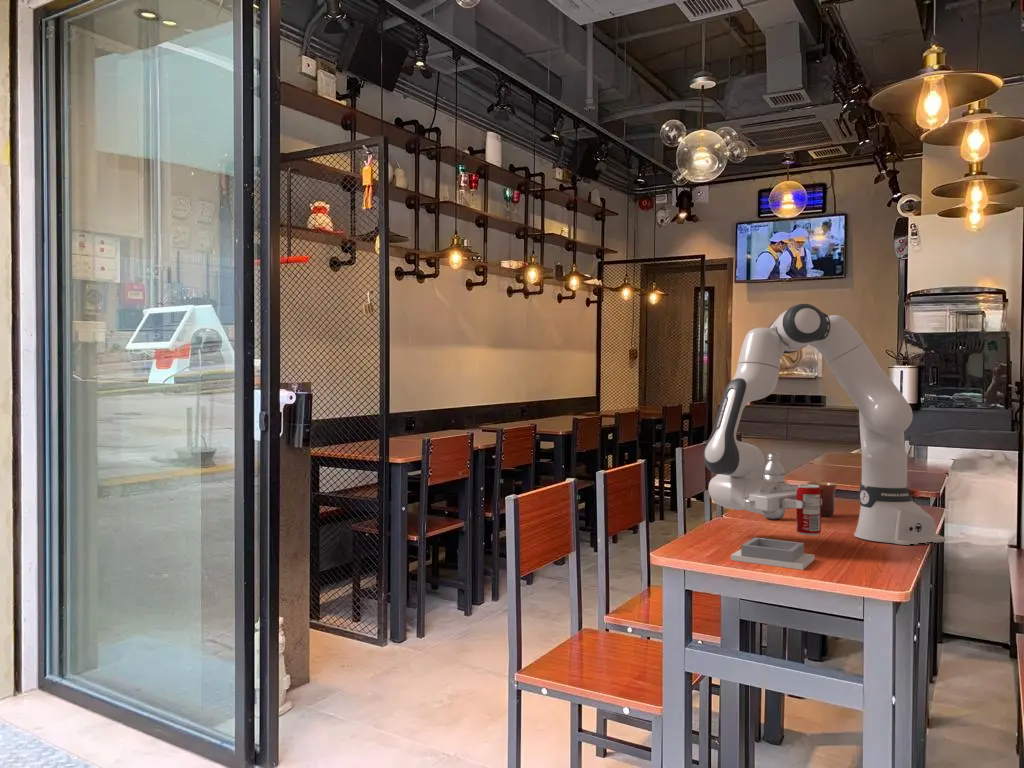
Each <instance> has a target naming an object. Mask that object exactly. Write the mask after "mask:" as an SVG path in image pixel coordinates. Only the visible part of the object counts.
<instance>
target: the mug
mask: <svg viewBox="0 0 1024 768" xmlns="http://www.w3.org/2000/svg"><path fill="white" fill-rule="evenodd" d="M806 484H810V485H811V484H812V485H818V486H819V488H820V491H821V499H822V505H821V518H831V517H833V516H834V512H835V494H836V493H835V492H836V488H837V486H838V484H837V483H835V482H829V481H828V482H827V481H807V483H806ZM830 516H831V517H830Z"/></svg>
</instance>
